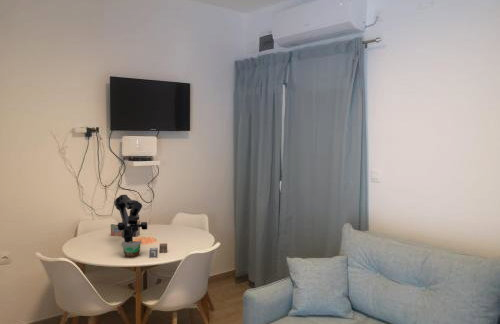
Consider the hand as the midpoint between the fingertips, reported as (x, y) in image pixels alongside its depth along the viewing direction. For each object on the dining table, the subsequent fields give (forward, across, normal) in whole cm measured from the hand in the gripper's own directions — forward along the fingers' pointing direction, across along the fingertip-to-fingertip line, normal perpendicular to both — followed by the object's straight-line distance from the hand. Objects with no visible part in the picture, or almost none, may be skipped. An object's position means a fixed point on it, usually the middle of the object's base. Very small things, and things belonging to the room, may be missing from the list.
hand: (131, 237), depth 242 cm
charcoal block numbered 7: (+10, +14, +7) cm, 19 cm away
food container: (+10, 0, +8) cm, 13 cm away
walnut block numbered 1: (+4, +20, +14) cm, 25 cm away
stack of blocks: (-27, -11, +45) cm, 53 cm away
